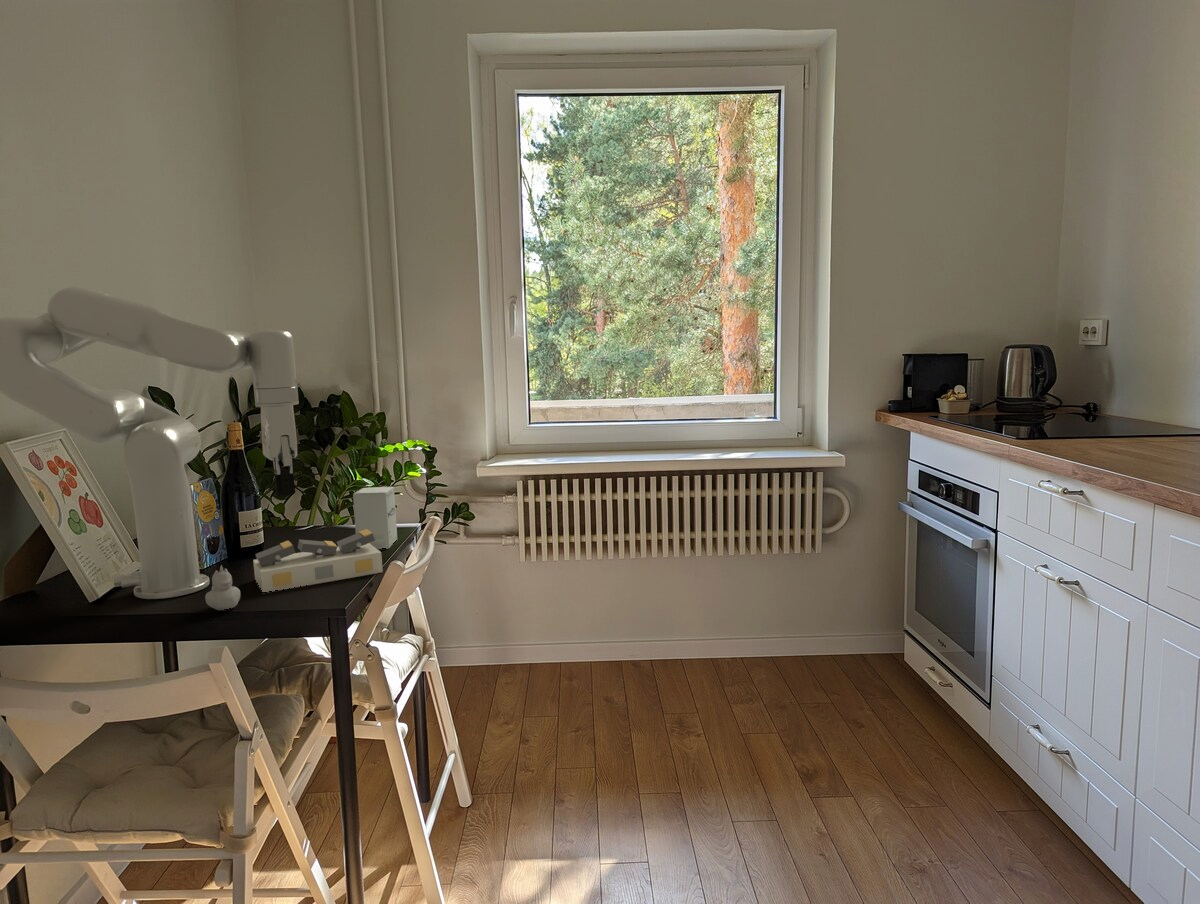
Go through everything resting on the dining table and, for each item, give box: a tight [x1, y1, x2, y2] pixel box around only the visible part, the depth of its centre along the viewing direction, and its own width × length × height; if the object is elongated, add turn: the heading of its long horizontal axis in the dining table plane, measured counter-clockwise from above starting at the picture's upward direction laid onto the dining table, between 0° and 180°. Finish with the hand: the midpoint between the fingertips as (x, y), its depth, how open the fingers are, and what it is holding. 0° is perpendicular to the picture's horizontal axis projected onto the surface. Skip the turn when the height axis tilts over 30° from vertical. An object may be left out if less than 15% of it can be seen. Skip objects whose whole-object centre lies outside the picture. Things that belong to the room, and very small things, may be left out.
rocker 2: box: [297, 539, 338, 555], centre depth 157 cm, size 6×5×2 cm
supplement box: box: [352, 486, 398, 550], centre depth 179 cm, size 7×7×13 cm
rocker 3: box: [336, 529, 375, 553], centre depth 160 cm, size 6×5×2 cm
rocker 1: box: [255, 540, 297, 566], centre depth 153 cm, size 6×5×2 cm
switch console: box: [252, 543, 384, 593], centre depth 157 cm, size 22×10×5 cm, turn 120°
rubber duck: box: [204, 564, 241, 611], centre depth 139 cm, size 5×7×8 cm
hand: (285, 494), depth 153 cm, fingers closed
